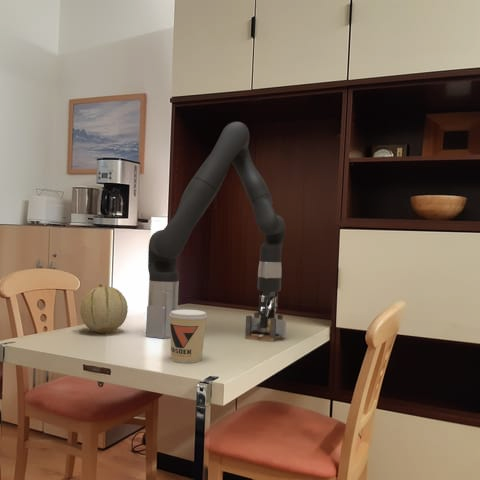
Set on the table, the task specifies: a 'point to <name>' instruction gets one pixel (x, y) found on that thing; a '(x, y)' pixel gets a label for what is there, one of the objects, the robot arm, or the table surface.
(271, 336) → the cylinder holder stand
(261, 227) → the robot arm
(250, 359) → the table surface
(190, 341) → the coffee cup
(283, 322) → the grey cylinder
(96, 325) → the cantaloupe
